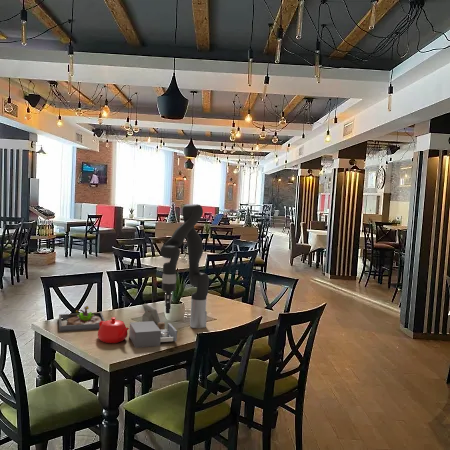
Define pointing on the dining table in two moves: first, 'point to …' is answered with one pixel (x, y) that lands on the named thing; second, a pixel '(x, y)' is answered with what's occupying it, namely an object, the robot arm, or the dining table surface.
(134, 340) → the housing
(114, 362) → the dining table surface
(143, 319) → the grey tissue
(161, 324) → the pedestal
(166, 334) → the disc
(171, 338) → the grey drawer box
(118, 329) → the teapot
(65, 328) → the rectangular frame
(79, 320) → the miniature garden
